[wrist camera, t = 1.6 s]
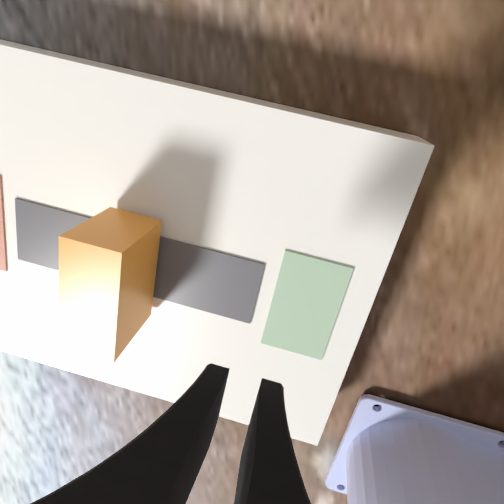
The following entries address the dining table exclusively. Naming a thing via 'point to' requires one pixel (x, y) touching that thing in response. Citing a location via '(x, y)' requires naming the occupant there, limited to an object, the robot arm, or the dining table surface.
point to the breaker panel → (201, 226)
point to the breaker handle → (106, 281)
